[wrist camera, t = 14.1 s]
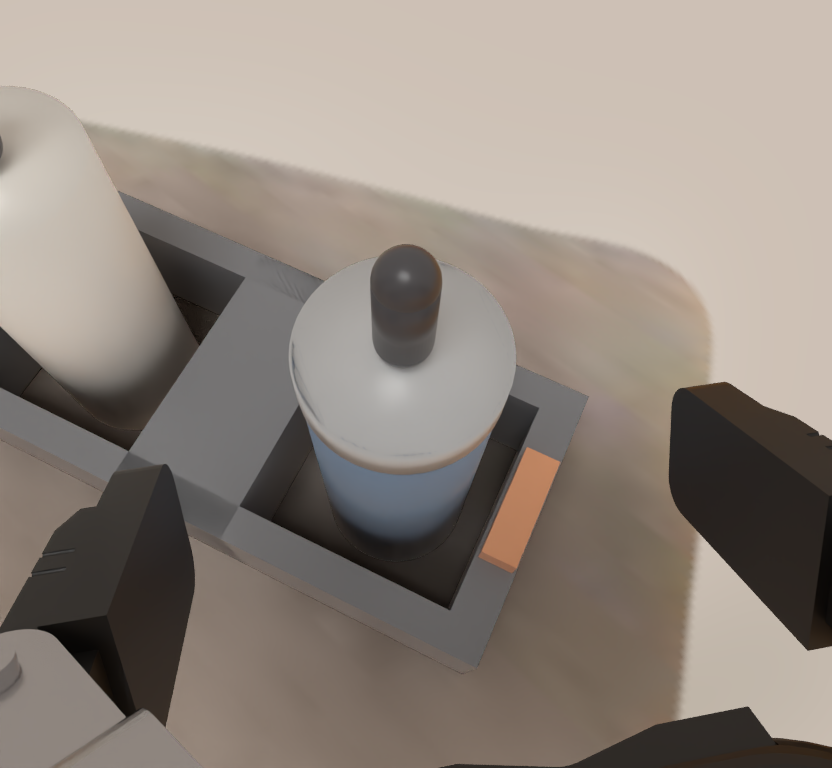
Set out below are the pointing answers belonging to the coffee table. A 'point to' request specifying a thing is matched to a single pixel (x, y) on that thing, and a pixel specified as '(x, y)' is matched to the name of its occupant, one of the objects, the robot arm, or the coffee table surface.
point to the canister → (400, 394)
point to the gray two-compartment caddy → (213, 381)
